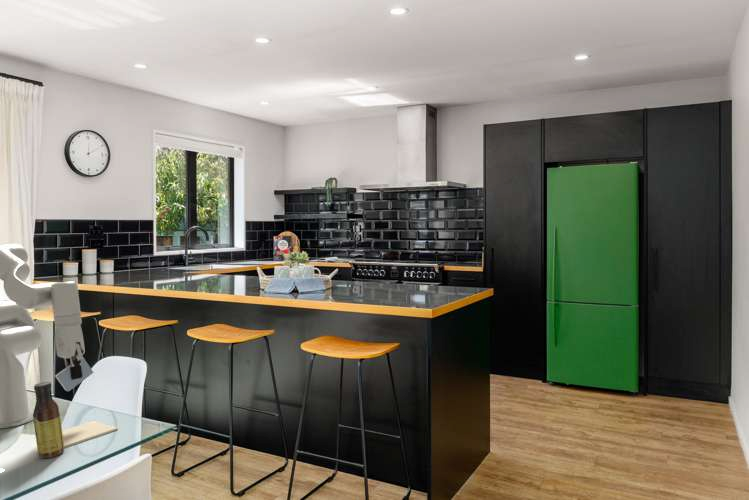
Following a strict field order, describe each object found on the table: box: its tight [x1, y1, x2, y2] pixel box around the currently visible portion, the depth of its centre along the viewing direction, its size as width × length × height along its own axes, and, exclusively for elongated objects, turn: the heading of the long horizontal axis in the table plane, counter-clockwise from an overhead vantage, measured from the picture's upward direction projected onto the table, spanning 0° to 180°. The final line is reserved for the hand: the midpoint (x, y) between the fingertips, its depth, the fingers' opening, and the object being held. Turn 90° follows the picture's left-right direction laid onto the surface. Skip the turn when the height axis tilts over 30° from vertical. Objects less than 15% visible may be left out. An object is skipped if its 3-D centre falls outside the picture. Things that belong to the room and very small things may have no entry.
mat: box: [62, 420, 119, 449], centre depth 170 cm, size 16×16×1 cm
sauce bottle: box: [32, 381, 65, 459], centre depth 154 cm, size 6×6×20 cm
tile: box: [54, 357, 94, 392], centre depth 179 cm, size 2×9×6 cm, turn 142°
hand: (74, 377), depth 179 cm, fingers closed on tile, 2 cm apart
